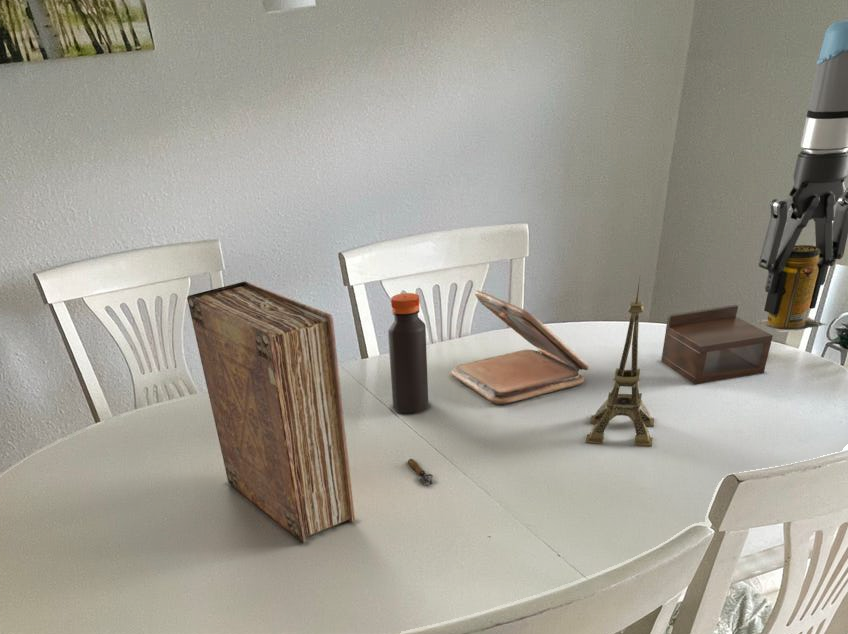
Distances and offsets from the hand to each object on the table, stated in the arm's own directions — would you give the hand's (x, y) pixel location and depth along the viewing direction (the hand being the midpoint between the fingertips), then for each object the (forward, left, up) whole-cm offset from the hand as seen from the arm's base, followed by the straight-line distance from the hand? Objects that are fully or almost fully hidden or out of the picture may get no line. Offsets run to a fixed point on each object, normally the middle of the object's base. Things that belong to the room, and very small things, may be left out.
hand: (789, 309), depth 131 cm
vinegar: (+18, +62, -14) cm, 66 cm away
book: (-11, +89, -14) cm, 91 cm away
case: (+23, +39, -14) cm, 48 cm away
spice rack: (+14, +3, -14) cm, 20 cm away
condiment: (0, -1, -3) cm, 3 cm away
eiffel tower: (-6, +31, -14) cm, 35 cm away
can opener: (-9, +67, -15) cm, 69 cm away
